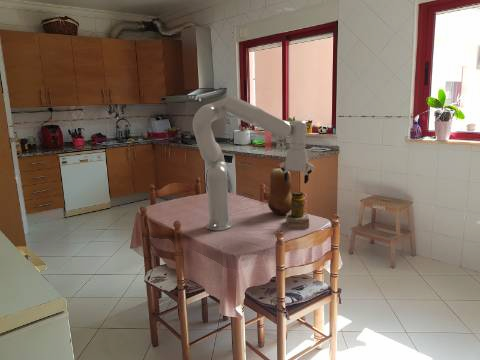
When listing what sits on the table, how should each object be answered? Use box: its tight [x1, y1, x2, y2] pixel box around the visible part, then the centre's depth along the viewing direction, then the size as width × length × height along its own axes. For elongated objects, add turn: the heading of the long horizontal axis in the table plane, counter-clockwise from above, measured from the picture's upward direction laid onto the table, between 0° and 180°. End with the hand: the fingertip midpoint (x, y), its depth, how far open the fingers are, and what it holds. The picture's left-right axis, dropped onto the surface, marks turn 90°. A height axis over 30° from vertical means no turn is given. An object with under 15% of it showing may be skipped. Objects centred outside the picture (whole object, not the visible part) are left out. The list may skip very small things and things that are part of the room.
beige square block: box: [285, 212, 310, 229], centre depth 188 cm, size 10×10×5 cm
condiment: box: [285, 191, 308, 220], centre depth 186 cm, size 7×8×12 cm
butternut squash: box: [267, 167, 292, 216], centre depth 203 cm, size 14×13×25 cm
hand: (296, 181), depth 184 cm, fingers open, 9 cm apart
